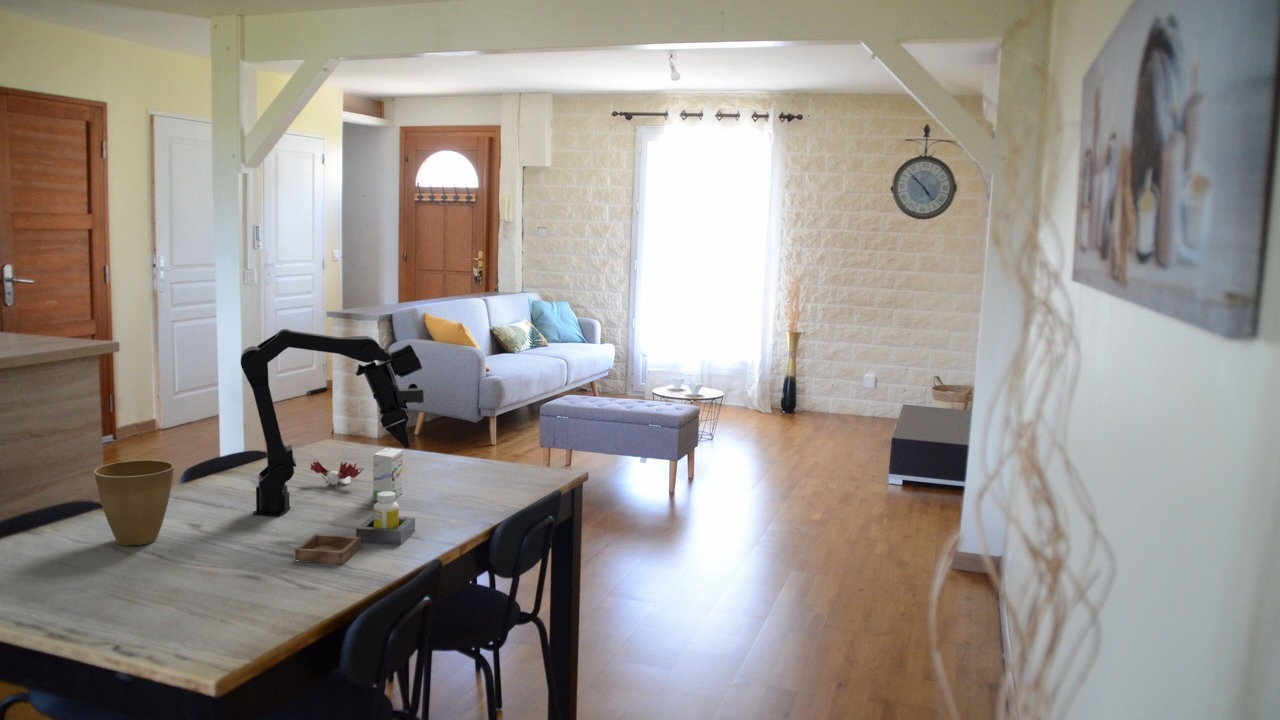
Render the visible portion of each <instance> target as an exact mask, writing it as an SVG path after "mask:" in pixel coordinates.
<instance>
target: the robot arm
mask: <svg viewBox="0 0 1280 720" xmlns="http://www.w3.org/2000/svg"><path fill="white" fill-rule="evenodd" d="M289 348H293V349H298V350H299V349H300V350H307V351H314V352H321V353H331V354H338V355H341V356H345V357H346V358H347V357H348V358H350V359H352V360H355V361H359V362H362V363H366V364H364V365H362V364H359V363H358V365H357V370H356V371H355V376H357V377H358V376H362V375H364V376H365V379H366V381H367V384H368V386H369V389H370V390H371V393H372V397H373V399H374V400H375V402H376V403H377V406H378V408H379V413H380V420H379V421H380V423H381V426H382V427H383V428H384V430H385V431H387V432H388V434H390V435H391V436H392V437H393V438H394V439H395V440H397V441H398V443H400V445H402V446H403V447H404V448H405V449H408V448H410V447H411V444H410V440H411V439H410V434H409V429H408V422H409V420H410V419H409V417H410V416H409V414H408V413H409V406H408V404H410V403H411V404H413V403H417V404H422V403H425V401H424V400H425V397H424V396H425V395H424V387H418V384H417V383H409V384H408V386H407V387H405V388H399V387H400V386H399V385H398V384H396V383H395V380H394V378H393V377H392V373H393V375H394V377H396V376H398V377H399V378H401V379H402V378H404V377H406V376H410V375H412V374H414V373H417V372H418V371H421V370H423V367H422V364H421V361H420V359H419V357H418V356H417V354H416V351H415V350H414V348H413V346H412V344H410V343H408V344H406V345H404V346H403V347H401V348H398V349H396V350H394V351H391V352H389V351H388V350H387V349H385V348H382V347H381V346H380V345H379V343H378V342H377V341H376V340H375V339H374V337H371V336H369V335H357V336H356V335H353V336H332V335H326V334H325V335H324V334H317V333H312V332H311V333H310V332H305V331H304V332H303V331H296V330H290V329H288V328H283V329H280V330H279V331H278V332H276V334H274V335H273V336H271V337H269V338H267V339H266V340H264V341H263V342H260V344H258V345H257V346H256V345H254V346H253V345H252V346H249V347H247V348H245V349H244V350H243V351H242V352H241V355H240V366H241V368H242V371H243V373H244V375H245V377H246V379H247V382H248V384H249V385H250V387H251V389H252V392H253V396H254V399H255V400H254V401H255V404H256V408H257V413H258V416H259V421H260V425H261V428H262V433H263V437H264V441H265V445H266V458H267V459H266V462H267V466H266V467H264V469H262V470H261V471H260V472H259V473H258V475H257V477H258V485H257V486H255V503H256V504H255V507H256V508H255V510H254V511H253V512H252V514H253V515H257V516H260V515H261V516H273V517H274V516H275V517H276V516H277V517H279V516H282V515H283V514H285V513H286V512H287V511H289V510H291V508H292V507H291V506H290V491H288V485H287V484H286V483H287V482H289V481H290V480H291V479H292V477H293V476H294V475H295V468H294V467H297V461H296V458H295V457H294V454H293V453H294V452H293V446H292V444H289V445H285V442H284V440H283V438H282V434H281V430H280V426H279V422H278V418H277V413H276V409H275V406H274V401H273V397H272V394H271V393H272V392H271V389H270V385H269V382H270V381H269V366H268V365H269V363H270V362H271V361H273V360H274V359H275V358H276V357H278V356H279V355H280V354H281V353H283V352H284V351H285V350H287V349H289ZM376 361H378V362H380V363H377V362H376ZM388 365H389V367H390V369H389V367H388ZM390 370H391V371H392V373H391V371H390Z"/></svg>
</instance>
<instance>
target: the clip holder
mask: <svg viewBox="0 0 1280 720" xmlns="http://www.w3.org/2000/svg"><path fill="white" fill-rule="evenodd" d="M415 529H416V517H409V516H406V517H405V516H399V527H398V528H397V529H390V528H375V527H374V514H371V515H370V516H368V518H367V519H365V520H364V521H363V522H362V523H360V525H358V526H357V527H356V528H355V537H361V543H367V544H369V543H371V544H381V545H382V544H386V545H398V546H399V545H400V546H401V545H403V543H405V541H406V540H407V539H408V538H409V537H410V536H411V535H412V534H413V533H414V532H415V531H416V530H415Z"/></svg>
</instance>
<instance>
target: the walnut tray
mask: <svg viewBox="0 0 1280 720" xmlns="http://www.w3.org/2000/svg"><path fill="white" fill-rule="evenodd" d="M361 544H362V542H361V537H356V536H349V535H348V536H347V535H346V536H345V535H334V534H332V535H331V534H318V533H317V534H316V533H315V534H313V535H312V536H311V537H309V538H308V539H307V540H306V541H304V542H303V543H302V544H300V545H299V546H298V547H297V548H295V549H294V553H295V554H294V556H295V557H294V558H295V560H299V561H310V562H309V563H312V562H318V563H317V564H326V563H327V564H328V565H341V566H343V565H345V563H347V562H348V561H349V560H350V559H351V558H352V557H353V556H354V555H355V554H356V553H357V552H359V551H360V550H361V547H362V546H361ZM319 562H320V563H319Z"/></svg>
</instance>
